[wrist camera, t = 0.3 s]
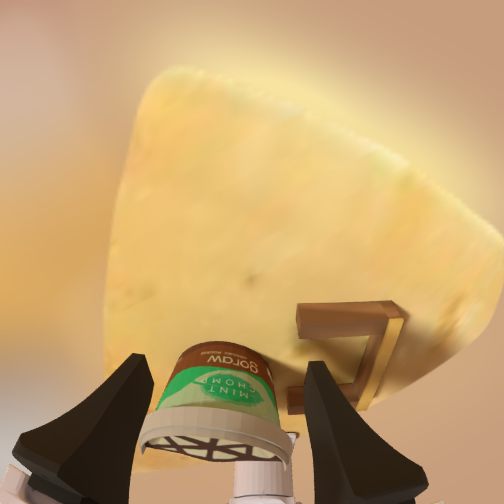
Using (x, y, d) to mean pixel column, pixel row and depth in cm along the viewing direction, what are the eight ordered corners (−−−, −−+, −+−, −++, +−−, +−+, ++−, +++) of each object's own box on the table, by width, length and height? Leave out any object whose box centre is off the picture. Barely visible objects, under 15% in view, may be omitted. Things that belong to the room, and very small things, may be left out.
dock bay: (360, 390, 27) (366, 410, 25) (286, 396, 27) (288, 417, 25) (391, 300, 22) (403, 320, 20) (297, 303, 22) (301, 325, 20)
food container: (297, 336, 24) (311, 437, 15) (286, 381, 26) (292, 471, 17) (154, 322, 24) (114, 414, 15) (162, 369, 26) (135, 453, 17)
